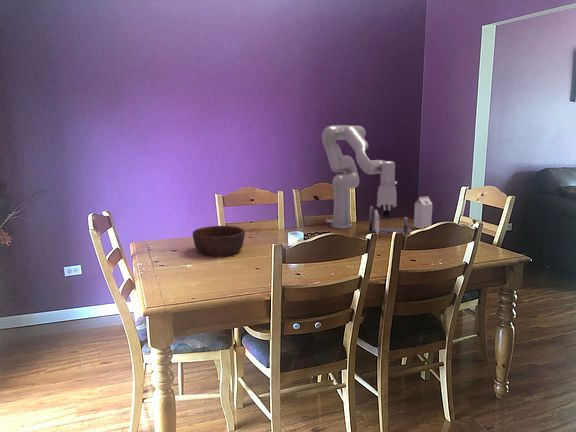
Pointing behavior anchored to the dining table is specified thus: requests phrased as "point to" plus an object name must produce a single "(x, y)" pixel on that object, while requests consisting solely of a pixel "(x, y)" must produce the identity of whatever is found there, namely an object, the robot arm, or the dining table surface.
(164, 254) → the dining table surface
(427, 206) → the milk carton
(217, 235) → the wooden bowl
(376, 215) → the gate
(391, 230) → the gate base
